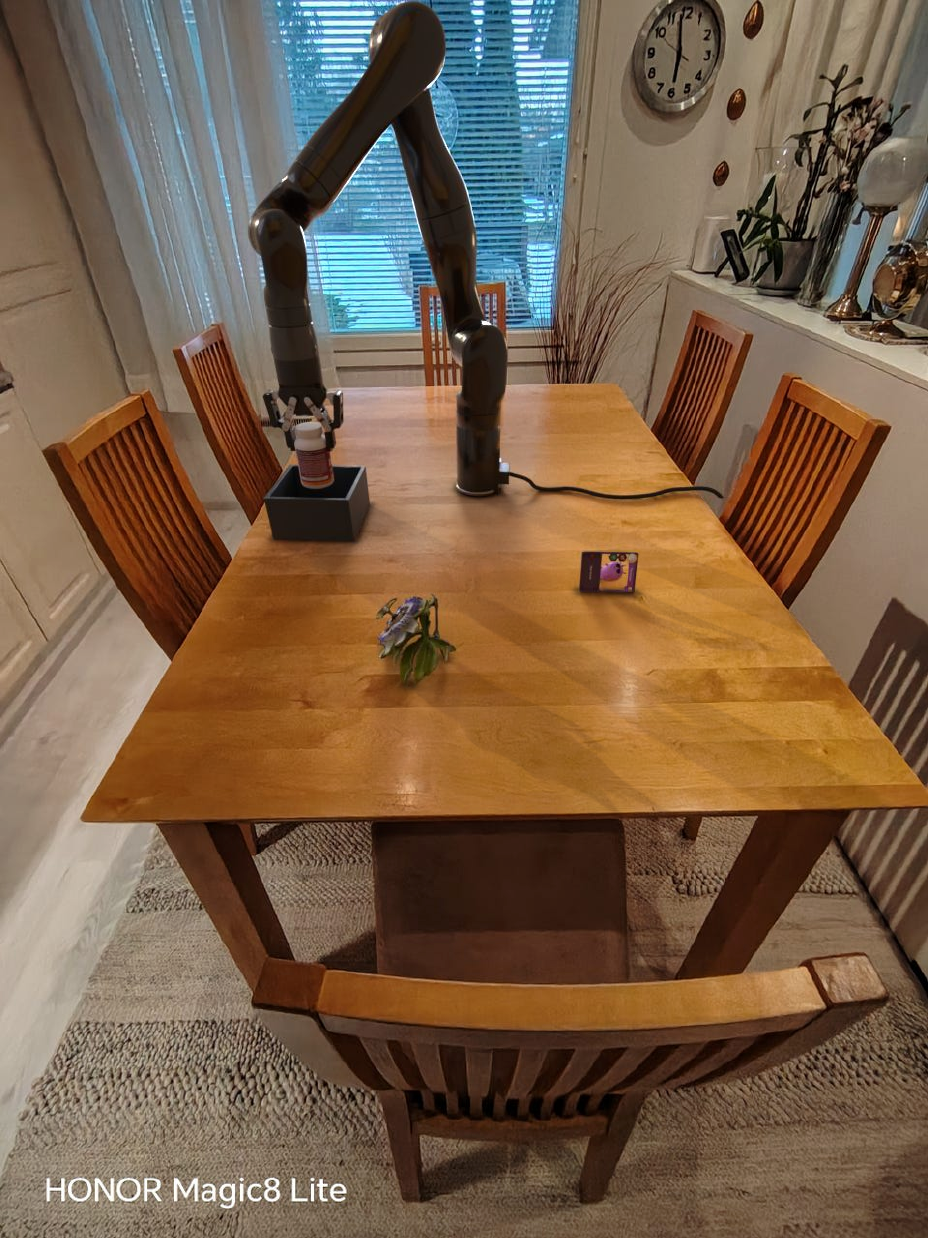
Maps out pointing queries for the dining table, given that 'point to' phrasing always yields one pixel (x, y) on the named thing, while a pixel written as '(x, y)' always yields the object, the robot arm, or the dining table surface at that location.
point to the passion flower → (405, 629)
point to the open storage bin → (318, 506)
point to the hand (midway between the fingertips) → (312, 449)
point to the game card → (606, 570)
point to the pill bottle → (313, 456)
